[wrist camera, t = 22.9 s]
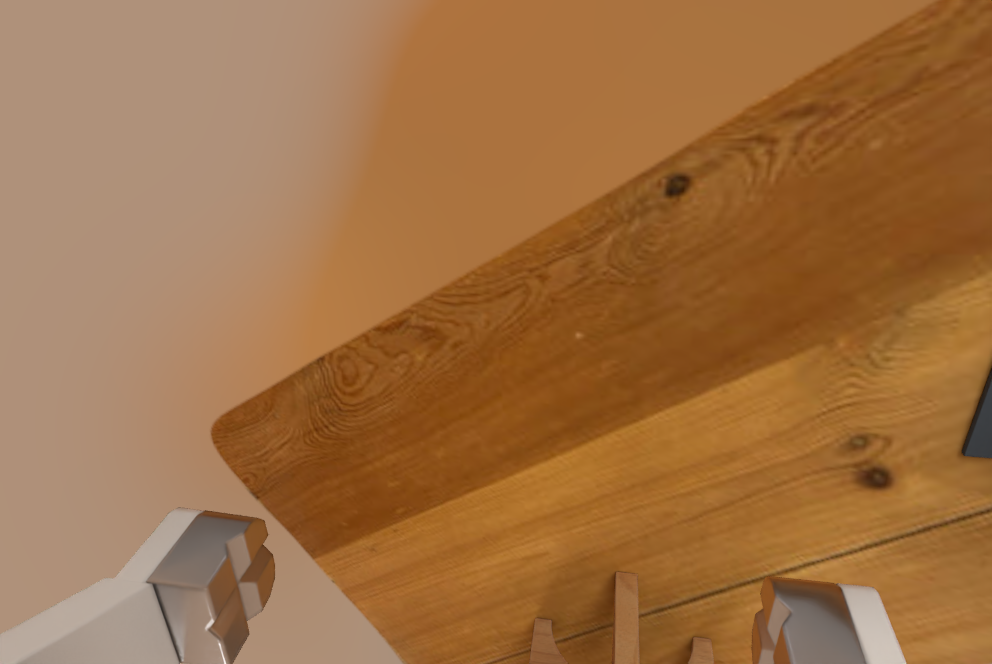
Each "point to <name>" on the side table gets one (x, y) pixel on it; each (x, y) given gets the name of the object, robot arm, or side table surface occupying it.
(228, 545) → the robot arm
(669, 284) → the side table surface
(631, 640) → the planter
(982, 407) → the mat
